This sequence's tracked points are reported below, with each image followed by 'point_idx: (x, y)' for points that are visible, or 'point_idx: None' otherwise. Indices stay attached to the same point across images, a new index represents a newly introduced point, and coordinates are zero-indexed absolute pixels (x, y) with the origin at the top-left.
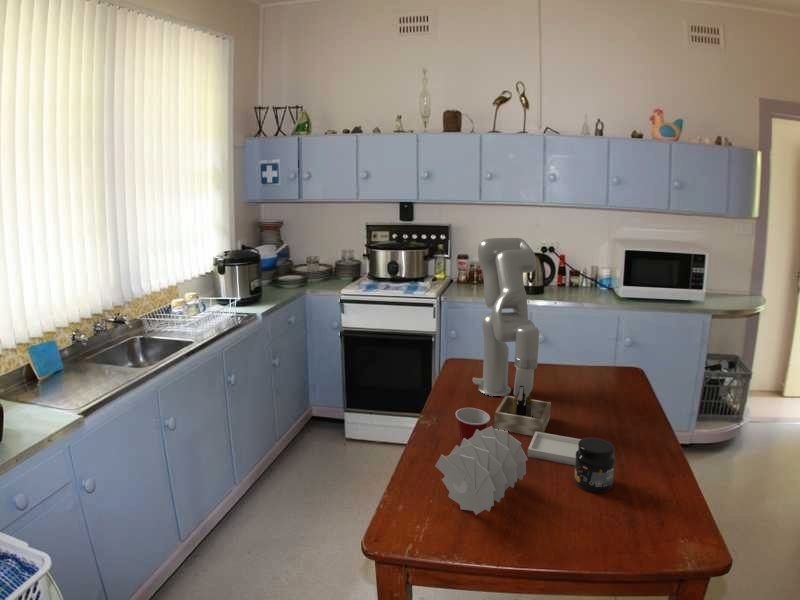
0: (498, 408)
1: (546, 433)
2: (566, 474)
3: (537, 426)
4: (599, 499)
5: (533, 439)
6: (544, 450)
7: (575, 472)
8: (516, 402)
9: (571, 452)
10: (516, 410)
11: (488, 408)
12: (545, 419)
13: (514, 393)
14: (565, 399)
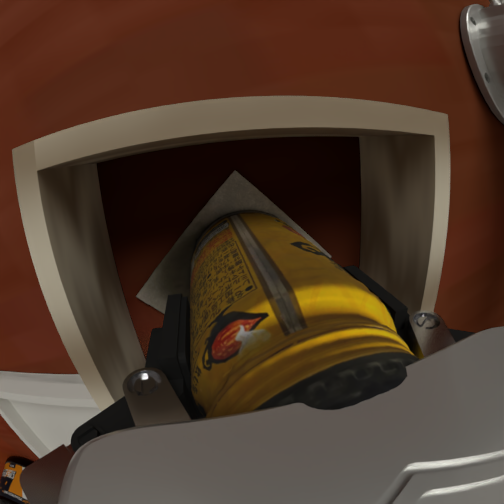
0: (111, 127)
1: None
2: (20, 446)
3: None
4: None
5: (40, 400)
6: (43, 418)
7: (5, 471)
8: (199, 345)
9: None
10: (165, 314)
11: (356, 29)
12: None
13: (62, 483)
14: (491, 316)
